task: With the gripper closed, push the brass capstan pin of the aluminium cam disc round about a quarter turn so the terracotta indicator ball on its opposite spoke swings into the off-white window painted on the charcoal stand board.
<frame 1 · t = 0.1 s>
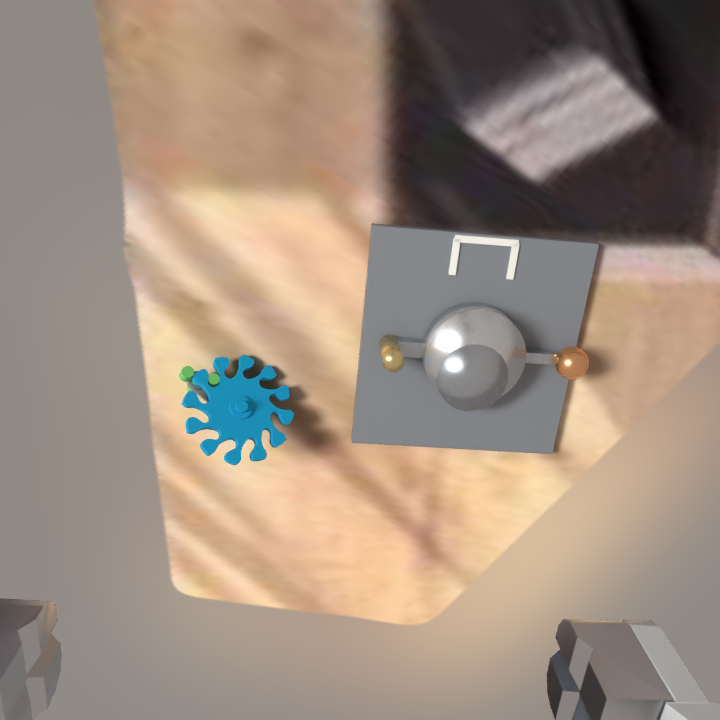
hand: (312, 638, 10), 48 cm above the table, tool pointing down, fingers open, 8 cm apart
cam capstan: (486, 362, 57), point 4 cm above the table, hinge at 0.0°
level stand: (467, 344, 60), on the table
gear: (240, 387, 61), on the table
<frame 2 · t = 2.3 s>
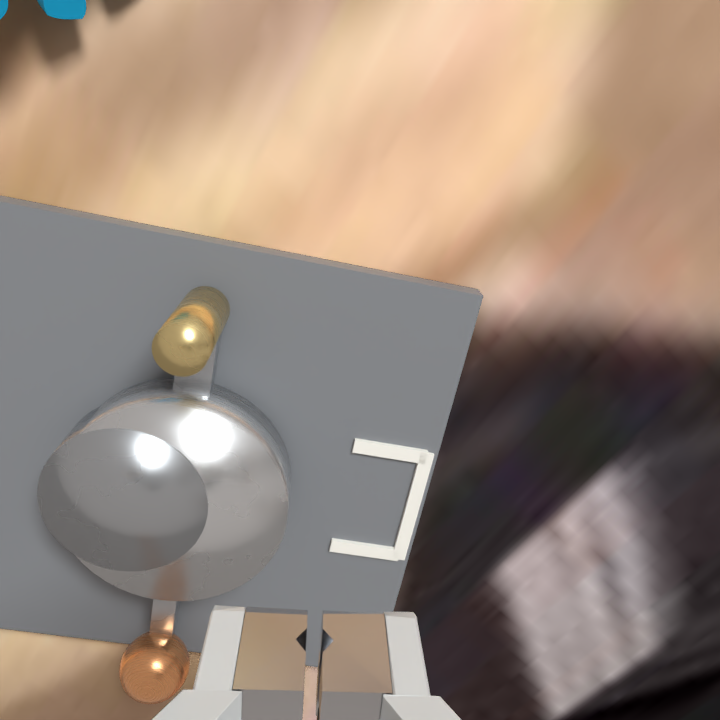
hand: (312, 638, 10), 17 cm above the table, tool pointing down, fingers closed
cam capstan: (163, 527, 25), point 4 cm above the table, hinge at 0.0°
level stand: (191, 459, 28), on the table
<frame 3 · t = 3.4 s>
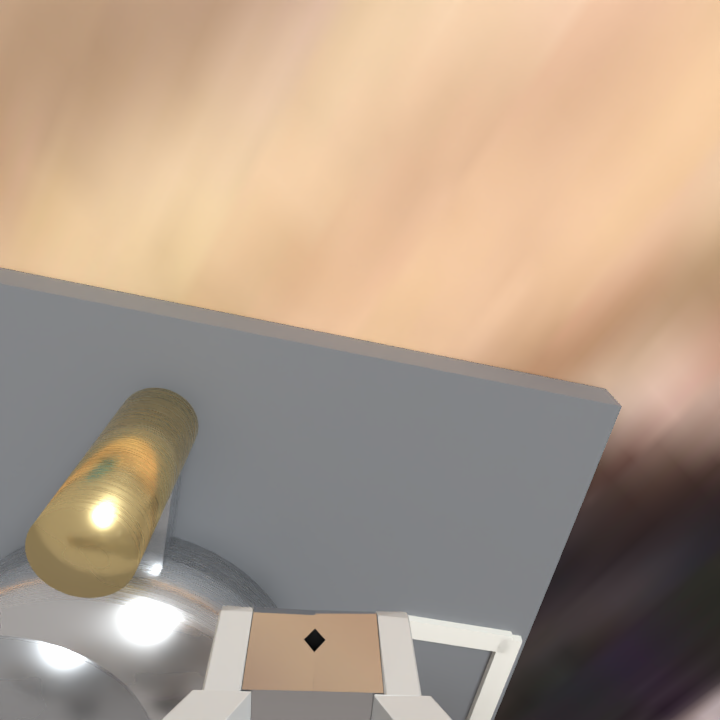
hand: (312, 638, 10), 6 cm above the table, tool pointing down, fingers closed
level stand: (144, 628, 19), on the table
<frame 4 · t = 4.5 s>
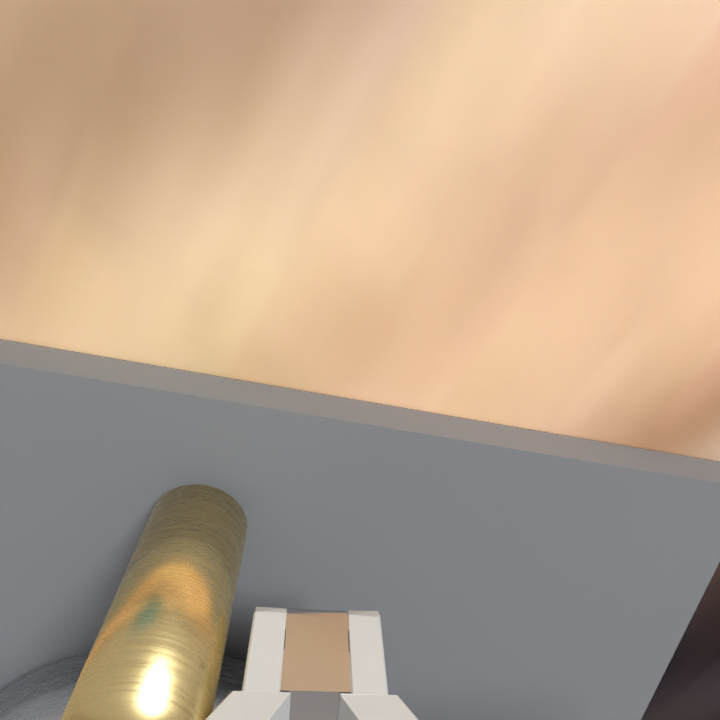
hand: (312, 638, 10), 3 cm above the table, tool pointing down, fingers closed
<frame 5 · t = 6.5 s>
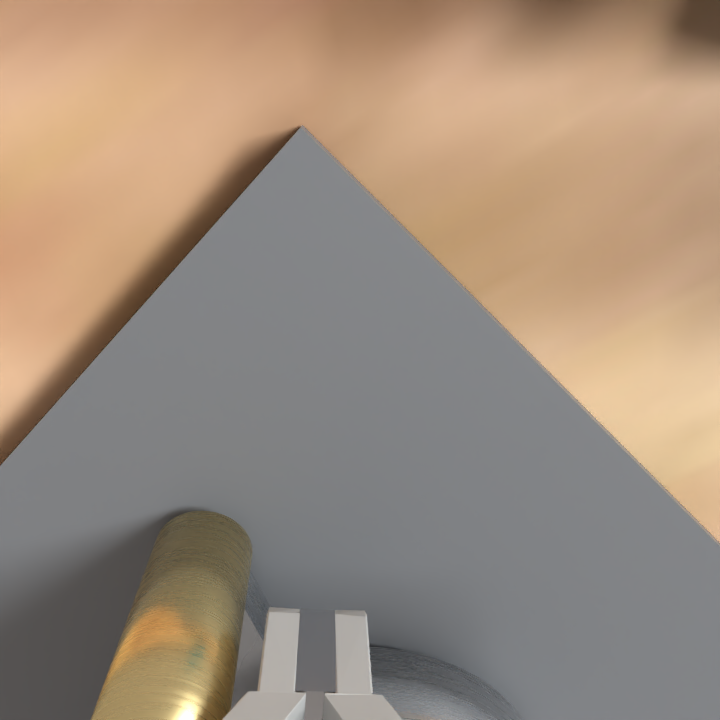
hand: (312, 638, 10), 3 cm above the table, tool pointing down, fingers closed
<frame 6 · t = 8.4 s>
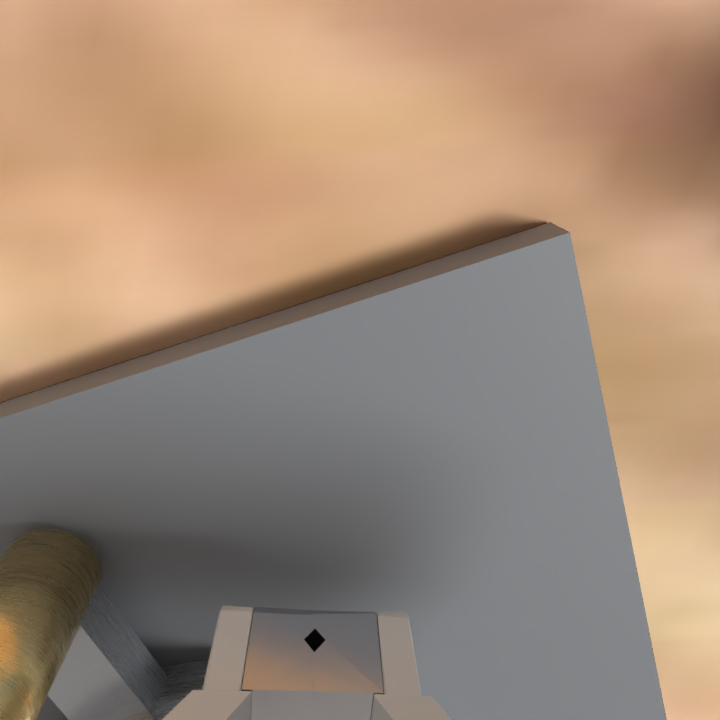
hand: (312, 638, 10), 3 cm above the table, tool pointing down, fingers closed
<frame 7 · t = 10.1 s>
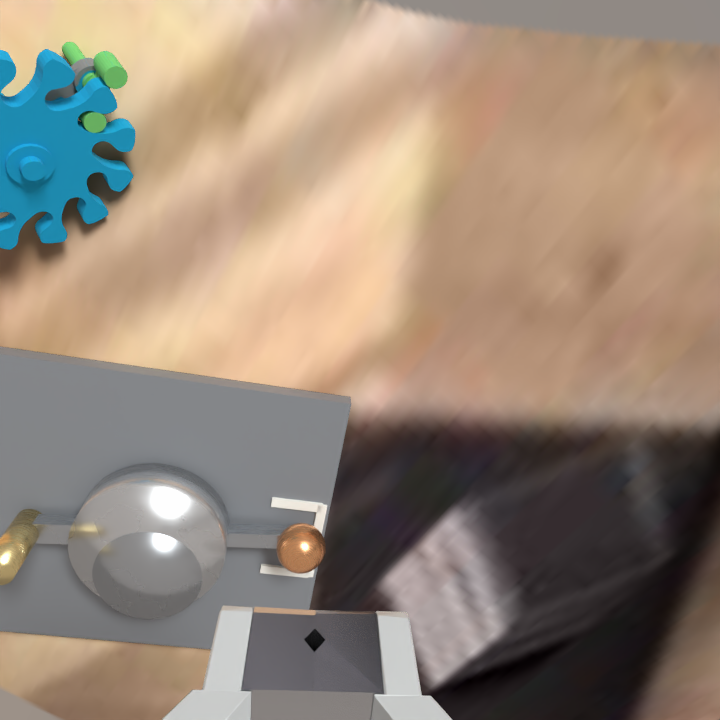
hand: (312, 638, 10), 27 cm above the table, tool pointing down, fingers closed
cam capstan: (166, 553, 38), point 4 cm above the table, hinge at 95.3°
level stand: (161, 513, 41), on the table
gear: (64, 144, 33), on the table
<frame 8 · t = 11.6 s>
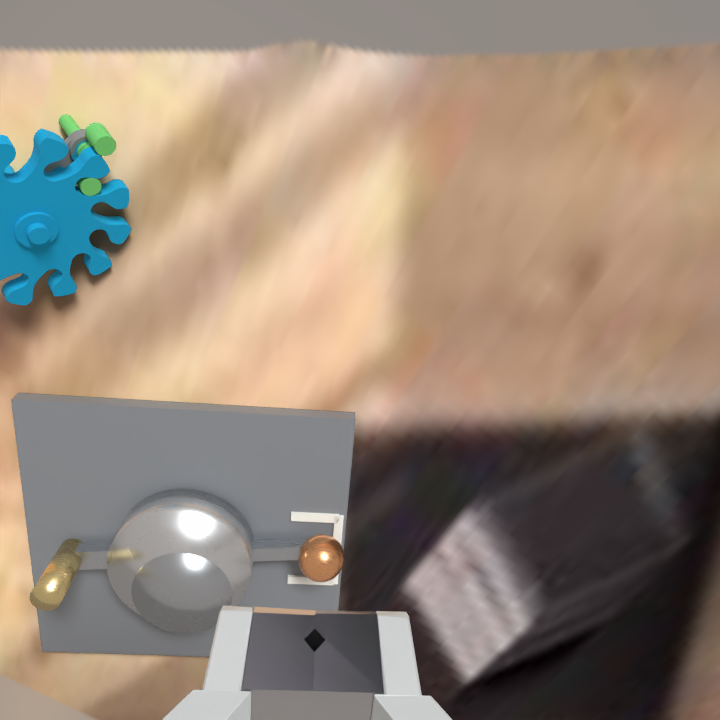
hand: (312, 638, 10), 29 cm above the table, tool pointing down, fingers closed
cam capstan: (197, 571, 41), point 4 cm above the table, hinge at 95.3°
level stand: (191, 534, 44), on the table
gear: (68, 205, 36), on the table
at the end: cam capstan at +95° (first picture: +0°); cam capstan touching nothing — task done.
